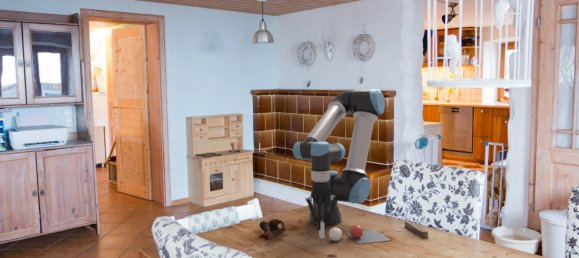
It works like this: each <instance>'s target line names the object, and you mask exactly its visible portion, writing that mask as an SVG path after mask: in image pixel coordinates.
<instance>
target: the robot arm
mask: <svg viewBox="0 0 579 258" xmlns="http://www.w3.org/2000/svg"><path fill="white" fill-rule="evenodd" d="M385 102H386V101H385V97H384V94H383V93H382V91H381V90H380V89H378V88H377V89H376V88H375V89H373V88H365V89H364V88H362V89H361V88H359V89H358V88H356V89H354V88H353V89H352V88H351V89H346V90H345V91H343V92H342V91H341V92H340V93H339V94H337V95H336V96H334V98H332V99H331V101H330V102H329V103H328V105H327V109H326V111H325V112H324V113H323V114H322V117H320V119H319V120H318V121H317V123H316V124H315V126H314V127H313V128H312V130H311V131H310V132H309V133H308V134H307V136H306V138H305V139H304V140H303V141H297V142H295V143H294V145H293V147H292V153H293V156H294V158H295V159H297V160H302V161H303V160H305V161H310V164H311V167H310V168H311V172H310V173H311V177H310V178H311V180H312V181H311V192H310V196H308V197H306V198H305V201H306V203H307V205H308V209H309V213H310V214H309V216H308V217H309V218H308V219H309V220H308V221H309V222H310V223H311V224H314V225H316V229H317V231H318V237H319V239H325V238H326V237H325V230H327V226H333V225H338V224H340V223H341V222H342V221H343V219H342V218H343V217H342V213H341V211H340V210H341V209H340V207H339V203H338V202H344V203H350V204H362V203H364V202H365V201H366V200H367V199H368V198H369V195H370V191H371V181H370V179H369V178H368V174H367V173H366V167H367V162H368V161H367V160H368V156H369V150H370V145H371V138H372V135H373V128H374V123H375V122H376V121H378V119H379V115H382V114H384V112H385V109H386V108H385V107H386V103H385ZM350 114H352V115H353V117H354V119H355V121H354V126H353V131H352V135H351V139H350V146H349V150H348V156H347V161H346V166H345V168H343V169H342V170H341V175H340V174H338V171H337V170H331V163H336V162H339V161H341V160H343V159H344V157H345V156H346V148H345V147H344V145H343V144H342V143H340V142H333V143H329V142H328V141H326V140H327V138H328V137H329V136H330V135H331V133H332V132H333V130H334V129H335V128H336V126H337V124H339V122H340V120H342V119H344V118H345V117H346V116H347V115H350Z"/></svg>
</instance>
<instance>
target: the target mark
mask: <svg viewBox="0 0 579 258" xmlns="http://www.w3.org/2000/svg"><path fill="white" fill-rule="evenodd" d="M346 235H347V236H348V237H349V238H350V239H352V240H353V241H354V242H355V243H356V244H357V245H362V244H373V243H382V242H383V243H384V242H391V239H390V238H389V237H387V236H385V235H384V234H383V233H382V232H380V231H379V230H377V229H372V230H371V229H370V230H363V235H362V236H361V237H360V238H357V239H356V238H353V237H352V236H351V235H350V232H346Z"/></svg>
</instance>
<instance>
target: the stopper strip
mask: <svg viewBox="0 0 579 258" xmlns="http://www.w3.org/2000/svg"><path fill="white" fill-rule="evenodd" d="M404 227H405V228H406V229H408V230H409V231H411V232H412V233H414V234H416V235H418V237H420V238H422V239H427V238H429V231H428V230H426V229H425V228H423V227H421V226H419V225H417V224H416V223H414V222H413V221H411V220H404Z"/></svg>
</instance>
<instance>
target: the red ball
mask: <svg viewBox="0 0 579 258" xmlns="http://www.w3.org/2000/svg"><path fill="white" fill-rule="evenodd" d="M363 231H364V230H363V228H362V226H361V225H358V224H354V225H352V226H351V227H350V228H349V233H350V235H351V236H352V237H353V238H356V239H357V238H360V237H361V236H362V235H363Z"/></svg>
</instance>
